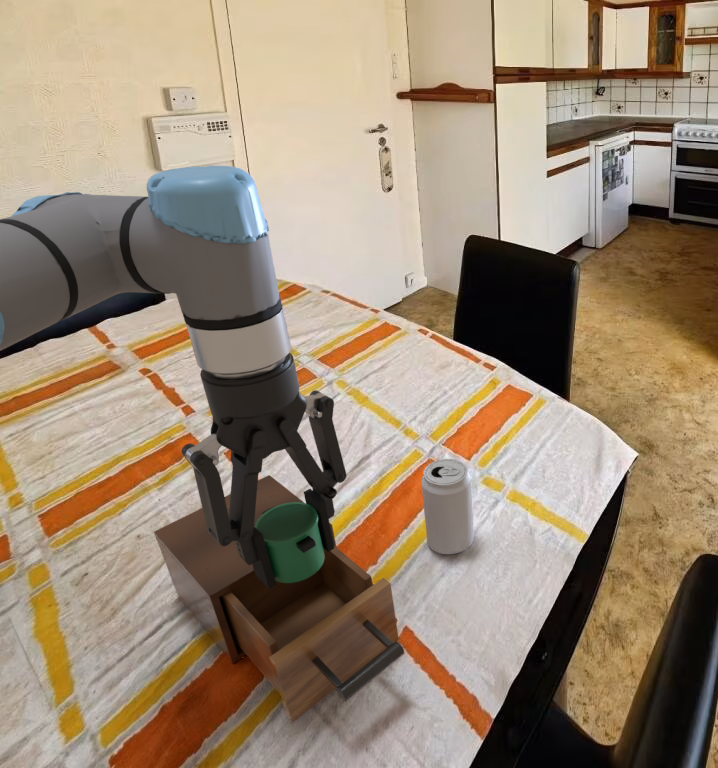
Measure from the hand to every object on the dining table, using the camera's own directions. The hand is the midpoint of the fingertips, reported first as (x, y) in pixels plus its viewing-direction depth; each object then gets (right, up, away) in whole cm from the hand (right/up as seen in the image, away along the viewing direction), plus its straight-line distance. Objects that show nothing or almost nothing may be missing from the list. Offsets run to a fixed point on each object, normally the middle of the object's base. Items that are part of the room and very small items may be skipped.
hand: (295, 561), depth 64 cm
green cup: (0, 0, 0) cm, 0 cm away
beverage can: (+14, -4, +22) cm, 26 cm away
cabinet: (-9, -8, +14) cm, 18 cm away
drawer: (+2, -12, +4) cm, 13 cm away
